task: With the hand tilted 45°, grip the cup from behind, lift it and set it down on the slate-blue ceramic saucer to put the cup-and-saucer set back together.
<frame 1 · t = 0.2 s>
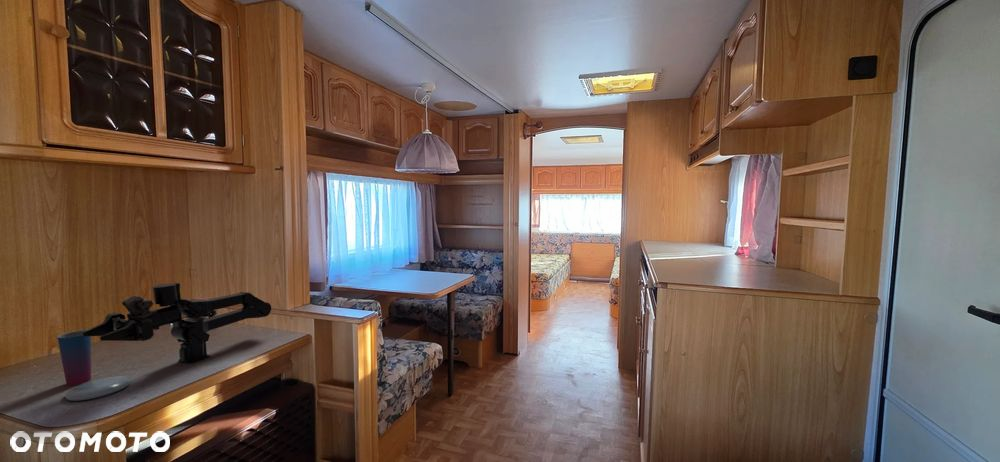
hand: (91, 336, 108), 17 cm above the counter, tool horizontal, fingers open, 9 cm apart
saucer: (99, 390, 111), on the counter
cup: (79, 382, 116), on the counter
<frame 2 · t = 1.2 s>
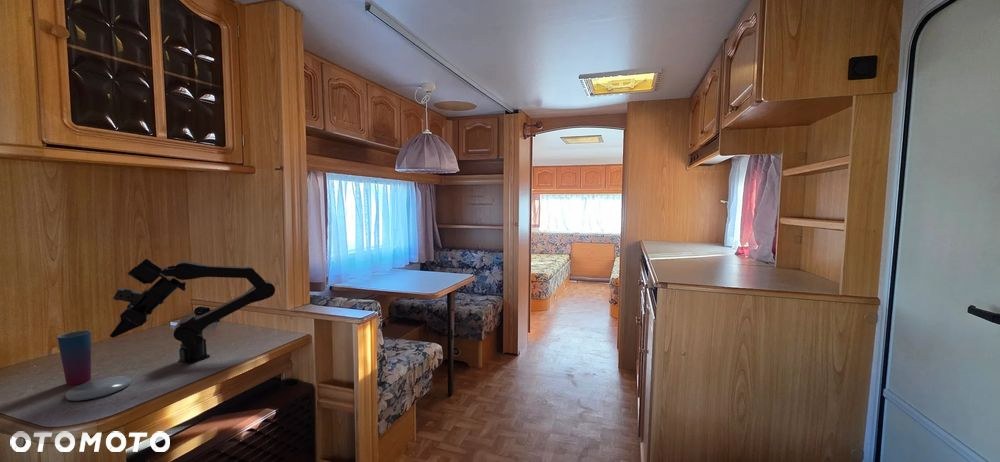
hand: (114, 332, 120), 13 cm above the counter, tool tilted 45°, fingers open, 9 cm apart
nothing on the counter moved.
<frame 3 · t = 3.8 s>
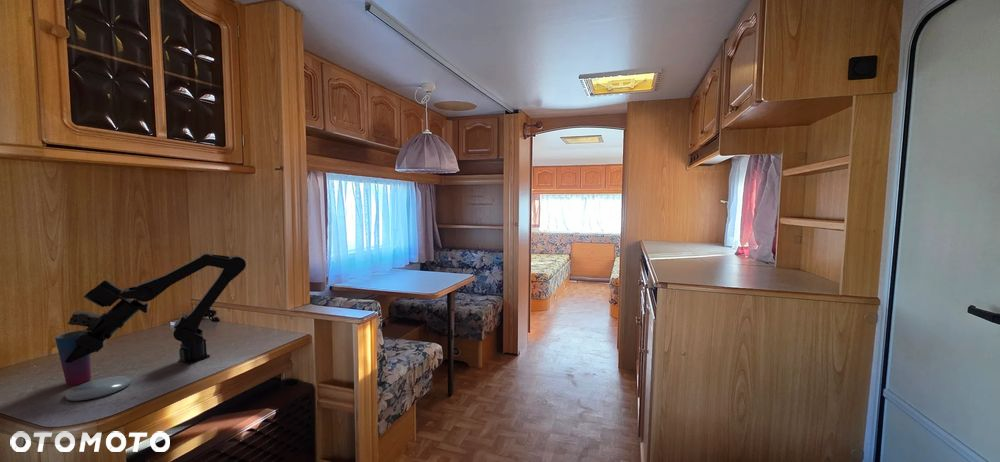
hand: (69, 358, 115), 8 cm above the counter, tool tilted 45°, fingers closed on cup, 6 cm apart
cup: (78, 382, 116), on the counter, touching gripper
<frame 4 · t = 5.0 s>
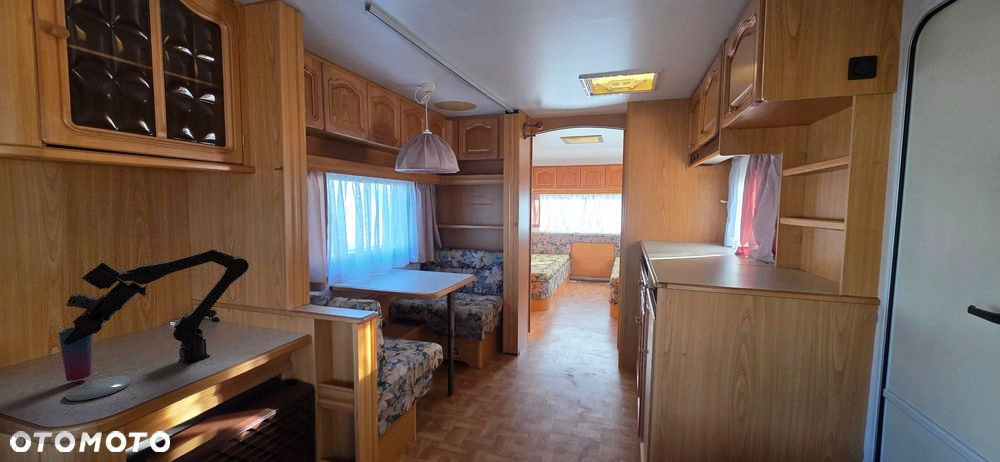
hand: (68, 340, 114), 13 cm above the counter, tool tilted 45°, fingers closed on cup, 6 cm apart
cup: (78, 377, 116), point 1 cm above the counter, touching gripper
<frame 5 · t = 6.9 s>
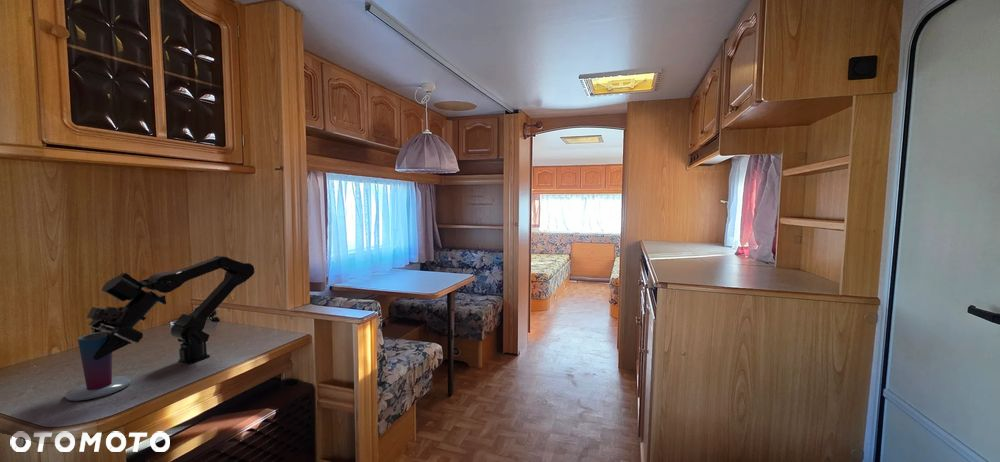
hand: (89, 357, 109), 10 cm above the counter, tool tilted 45°, fingers open, 6 cm apart
cup: (99, 386, 111), point 1 cm above the counter, touching gripper, saucer
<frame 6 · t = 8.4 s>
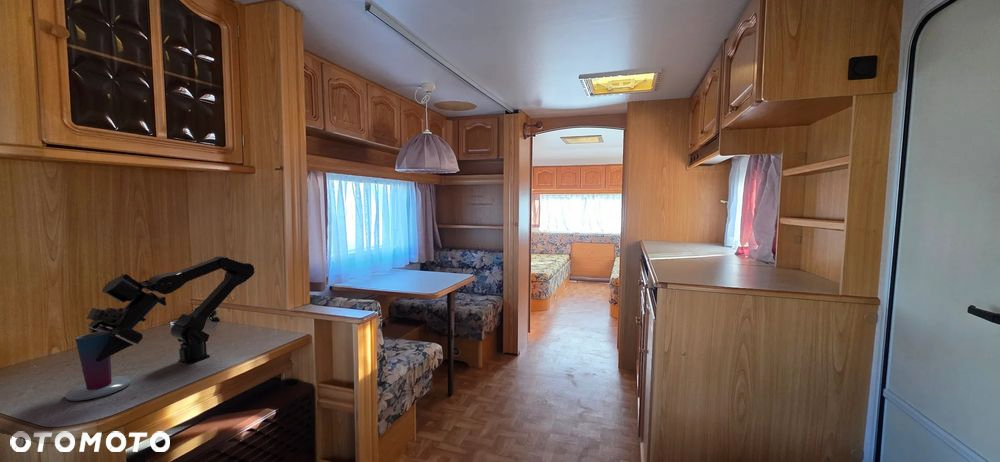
hand: (89, 358, 109), 10 cm above the counter, tool tilted 45°, fingers open, 9 cm apart
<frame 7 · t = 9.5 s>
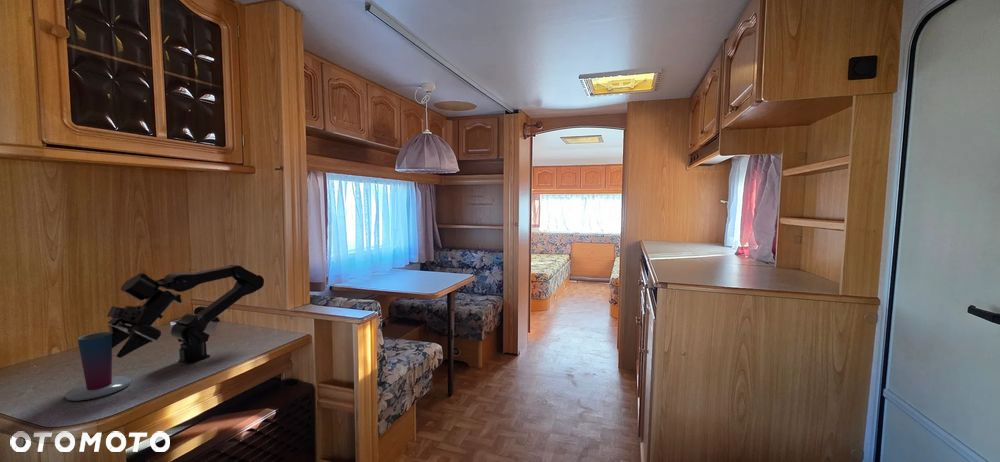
hand: (110, 354, 113), 10 cm above the counter, tool tilted 45°, fingers open, 9 cm apart
cup: (99, 386, 111), point 1 cm above the counter, touching saucer
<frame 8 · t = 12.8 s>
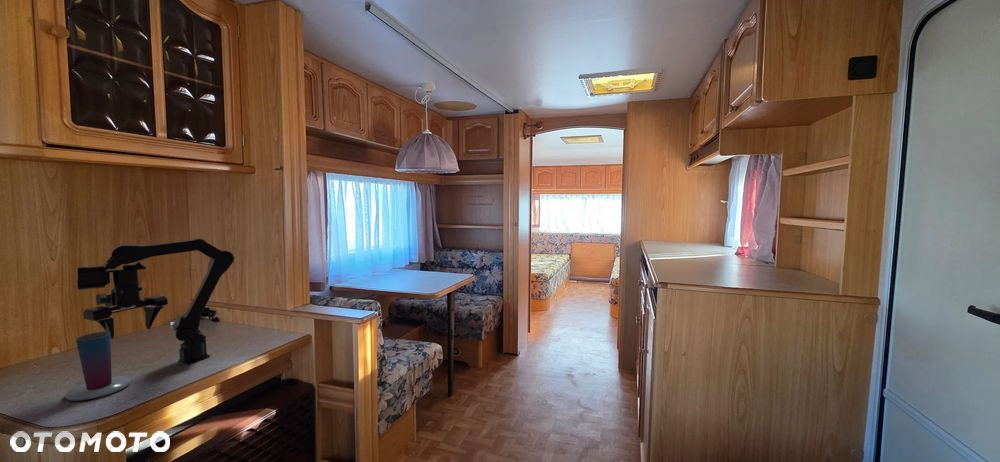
hand: (130, 333, 121), 13 cm above the counter, tool pointing down, fingers open, 9 cm apart
nothing on the counter moved.
at the end: cup 0.3 cm from the saucer (horizontally); cup point 1.1 cm above the counter; cup tilted 2° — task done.
